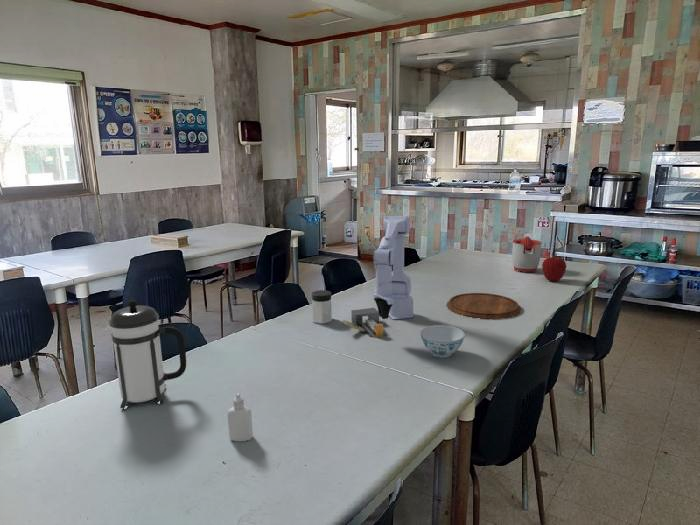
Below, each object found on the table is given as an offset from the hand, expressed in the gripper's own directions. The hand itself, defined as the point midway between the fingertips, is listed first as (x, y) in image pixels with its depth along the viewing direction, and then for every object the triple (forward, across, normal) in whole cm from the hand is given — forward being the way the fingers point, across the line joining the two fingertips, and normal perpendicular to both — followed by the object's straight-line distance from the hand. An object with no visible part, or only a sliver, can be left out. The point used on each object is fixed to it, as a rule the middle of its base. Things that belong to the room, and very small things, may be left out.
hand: (383, 317), depth 178 cm
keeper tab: (+7, -12, -8) cm, 16 cm away
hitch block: (+9, -15, 0) cm, 18 cm away
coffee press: (+10, +16, -80) cm, 82 cm away
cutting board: (+10, -22, +56) cm, 61 cm away
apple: (+10, -47, +114) cm, 124 cm away
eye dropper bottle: (+10, +46, -56) cm, 73 cm away
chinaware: (+10, +17, +15) cm, 25 cm away
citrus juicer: (+10, -70, +114) cm, 134 cm away
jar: (+10, -30, -16) cm, 35 cm away
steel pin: (+10, -12, 0) cm, 15 cm away
